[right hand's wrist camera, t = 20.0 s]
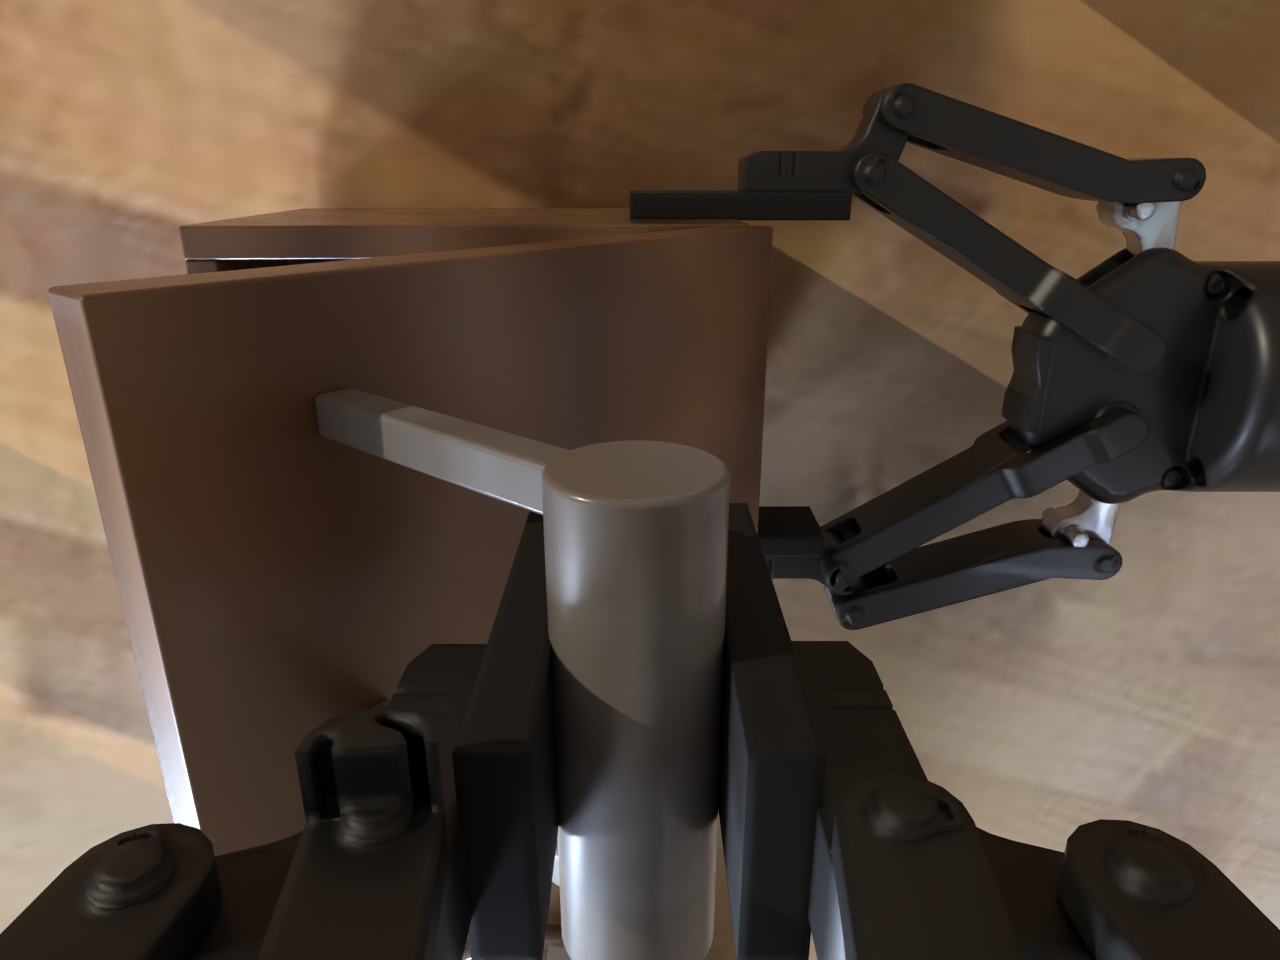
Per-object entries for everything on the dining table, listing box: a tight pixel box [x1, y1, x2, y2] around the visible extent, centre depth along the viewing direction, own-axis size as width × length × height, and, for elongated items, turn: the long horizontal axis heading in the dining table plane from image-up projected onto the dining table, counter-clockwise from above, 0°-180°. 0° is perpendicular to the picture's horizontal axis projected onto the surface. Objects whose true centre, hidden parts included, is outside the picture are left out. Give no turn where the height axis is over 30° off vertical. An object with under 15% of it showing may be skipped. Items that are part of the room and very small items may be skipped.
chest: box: [179, 208, 748, 274], centre depth 29 cm, size 15×10×10 cm
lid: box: [48, 225, 773, 960], centre depth 16 cm, size 16×10×9 cm
